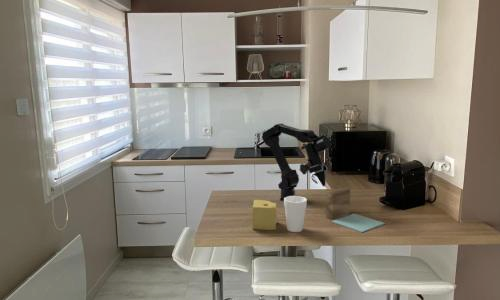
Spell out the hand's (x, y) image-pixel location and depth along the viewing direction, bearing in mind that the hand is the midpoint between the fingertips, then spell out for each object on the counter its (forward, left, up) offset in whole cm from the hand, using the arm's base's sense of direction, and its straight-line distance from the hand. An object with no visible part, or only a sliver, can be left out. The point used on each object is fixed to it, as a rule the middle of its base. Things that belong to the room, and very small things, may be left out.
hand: (324, 186), depth 188 cm
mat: (+18, -11, -12) cm, 24 cm away
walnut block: (+8, -6, -12) cm, 16 cm away
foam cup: (-4, -30, -12) cm, 32 cm away
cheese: (-17, -32, -12) cm, 38 cm away
